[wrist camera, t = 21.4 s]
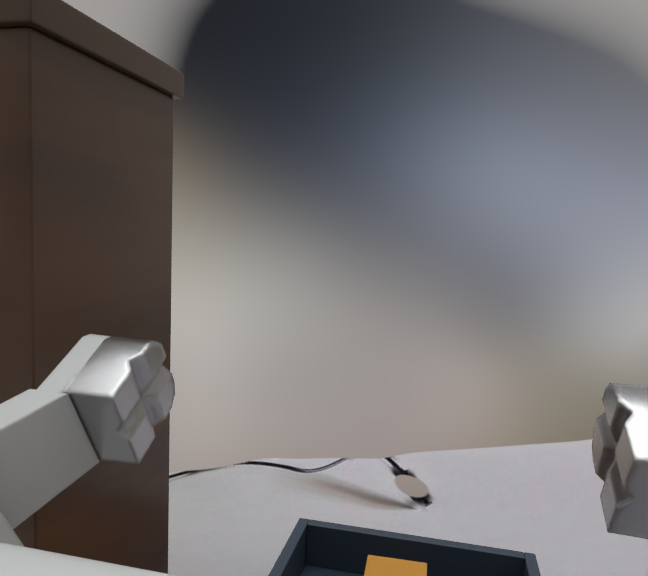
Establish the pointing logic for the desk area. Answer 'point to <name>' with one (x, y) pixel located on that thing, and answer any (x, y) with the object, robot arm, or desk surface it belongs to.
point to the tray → (390, 553)
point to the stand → (86, 247)
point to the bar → (393, 567)
